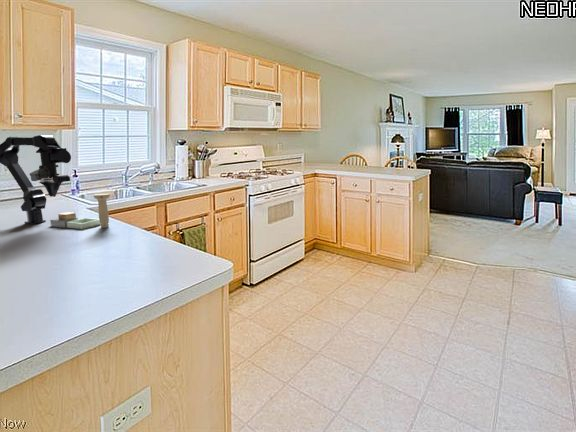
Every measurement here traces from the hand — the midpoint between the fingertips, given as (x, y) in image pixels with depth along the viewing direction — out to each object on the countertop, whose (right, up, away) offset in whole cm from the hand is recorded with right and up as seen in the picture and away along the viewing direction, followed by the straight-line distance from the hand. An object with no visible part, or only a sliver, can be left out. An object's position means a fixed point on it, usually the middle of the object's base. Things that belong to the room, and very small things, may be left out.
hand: (52, 196), depth 184 cm
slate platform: (+6, -13, -1) cm, 15 cm away
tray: (+16, -14, -3) cm, 21 cm away
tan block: (+7, -10, -1) cm, 13 cm away
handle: (+27, -14, -5) cm, 31 cm away
